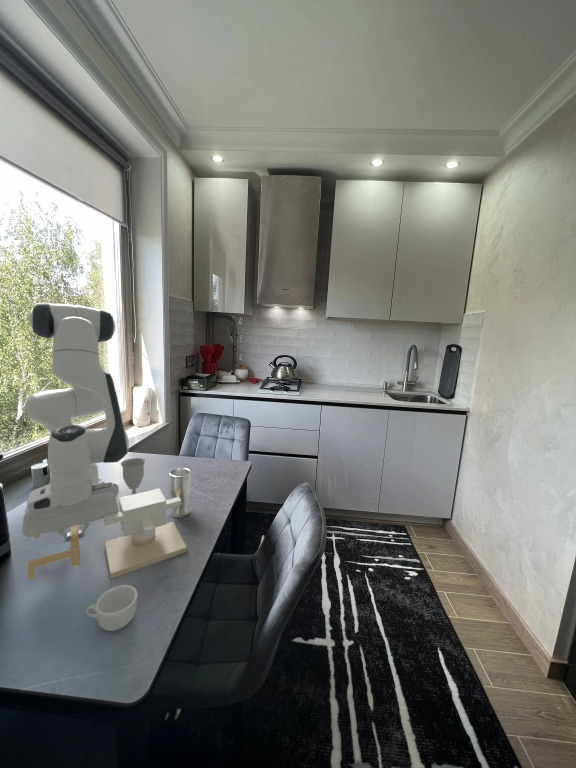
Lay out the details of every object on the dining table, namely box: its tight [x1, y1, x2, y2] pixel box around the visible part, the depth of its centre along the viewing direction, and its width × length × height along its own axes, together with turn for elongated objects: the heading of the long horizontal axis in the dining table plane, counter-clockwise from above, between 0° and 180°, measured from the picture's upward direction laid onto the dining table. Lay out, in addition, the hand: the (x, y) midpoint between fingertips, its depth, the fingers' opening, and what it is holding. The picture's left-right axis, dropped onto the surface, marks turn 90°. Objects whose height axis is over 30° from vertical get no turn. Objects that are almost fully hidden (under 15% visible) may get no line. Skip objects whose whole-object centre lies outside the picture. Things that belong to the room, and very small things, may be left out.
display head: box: [103, 488, 188, 579], centre depth 88 cm, size 14×20×14 cm
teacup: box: [85, 584, 138, 632], centre depth 67 cm, size 10×8×5 cm
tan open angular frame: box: [26, 525, 81, 581], centre depth 79 cm, size 10×17×4 cm, turn 35°
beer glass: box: [168, 467, 192, 519], centre depth 106 cm, size 7×7×15 cm
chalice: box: [120, 457, 146, 495], centre depth 105 cm, size 7×7×18 cm
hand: (74, 538), depth 82 cm, fingers closed on tan open angular frame, 2 cm apart
